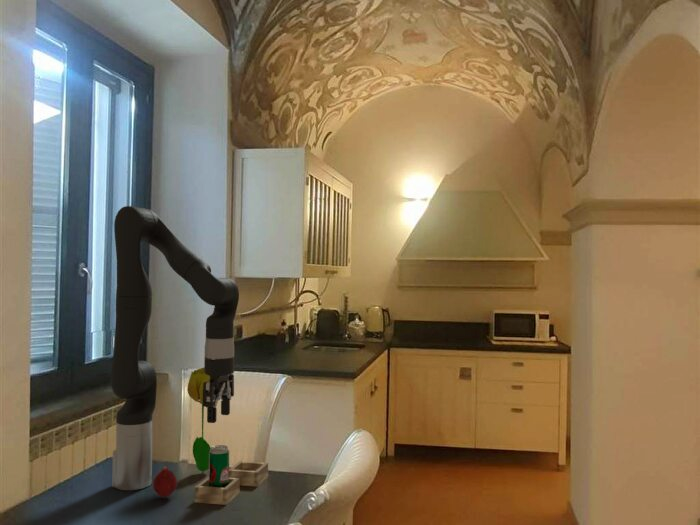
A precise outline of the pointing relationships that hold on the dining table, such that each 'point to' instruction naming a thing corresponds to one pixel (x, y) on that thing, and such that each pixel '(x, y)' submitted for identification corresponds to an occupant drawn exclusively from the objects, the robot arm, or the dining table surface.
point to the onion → (165, 483)
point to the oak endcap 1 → (217, 492)
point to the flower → (196, 393)
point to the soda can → (219, 466)
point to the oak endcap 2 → (249, 473)
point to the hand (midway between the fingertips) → (218, 418)
